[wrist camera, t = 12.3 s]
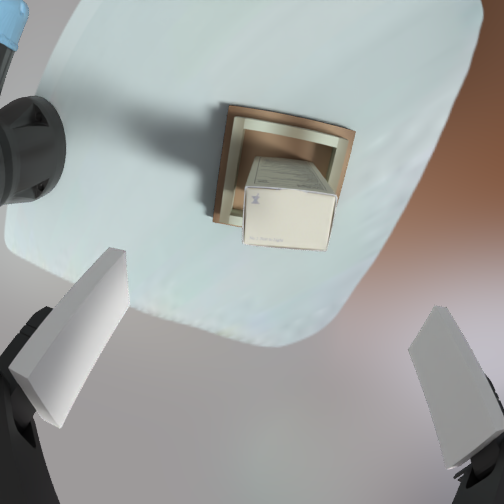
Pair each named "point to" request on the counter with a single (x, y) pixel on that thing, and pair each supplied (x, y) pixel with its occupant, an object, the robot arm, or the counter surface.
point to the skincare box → (287, 205)
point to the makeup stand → (275, 153)
